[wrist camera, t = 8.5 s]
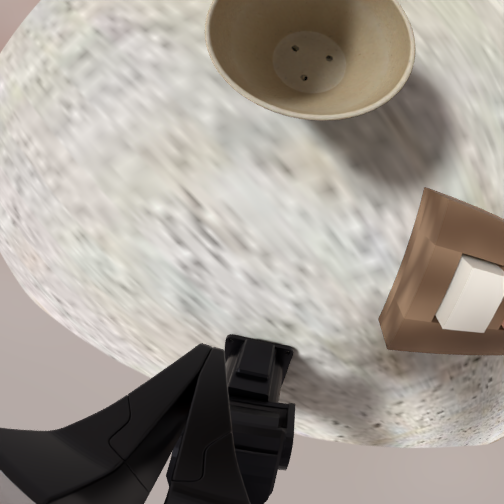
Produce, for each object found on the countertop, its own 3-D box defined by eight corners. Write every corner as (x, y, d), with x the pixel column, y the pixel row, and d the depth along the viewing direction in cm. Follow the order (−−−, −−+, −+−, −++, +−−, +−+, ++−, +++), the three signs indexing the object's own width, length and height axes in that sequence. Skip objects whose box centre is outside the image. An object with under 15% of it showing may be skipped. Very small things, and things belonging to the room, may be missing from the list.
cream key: (469, 312, 17) (483, 332, 15) (429, 305, 18) (442, 328, 15) (493, 261, 15) (511, 278, 12) (453, 249, 16) (472, 267, 13)
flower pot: (401, 104, 15) (448, 91, 8) (275, 149, 18) (259, 154, 11) (337, -6, 12) (348, -58, 5) (216, 37, 15) (175, -1, 8)
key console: (507, 333, 19) (521, 354, 16) (378, 319, 22) (387, 349, 18) (549, 243, 14) (569, 258, 11) (424, 187, 17) (448, 199, 13)
